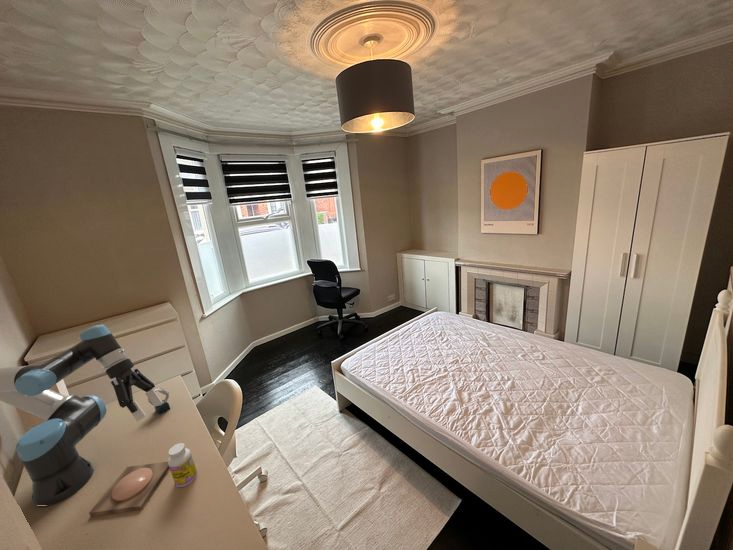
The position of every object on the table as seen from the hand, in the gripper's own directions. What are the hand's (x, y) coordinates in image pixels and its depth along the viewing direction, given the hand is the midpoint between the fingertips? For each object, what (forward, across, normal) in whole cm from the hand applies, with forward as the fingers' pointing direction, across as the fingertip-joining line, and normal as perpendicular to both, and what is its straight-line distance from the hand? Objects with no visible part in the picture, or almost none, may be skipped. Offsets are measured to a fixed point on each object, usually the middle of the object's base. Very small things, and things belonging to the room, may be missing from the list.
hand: (150, 411), depth 108 cm
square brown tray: (+18, -8, +13) cm, 24 cm away
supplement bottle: (+26, -11, -2) cm, 28 cm away
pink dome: (+17, -8, +12) cm, 23 cm away
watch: (+5, +34, +13) cm, 37 cm away
